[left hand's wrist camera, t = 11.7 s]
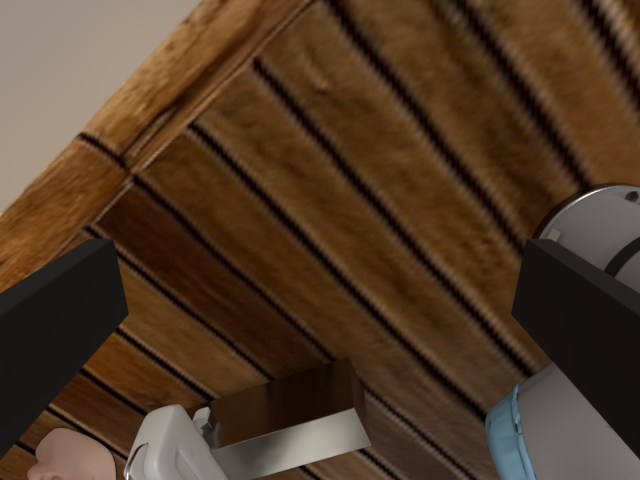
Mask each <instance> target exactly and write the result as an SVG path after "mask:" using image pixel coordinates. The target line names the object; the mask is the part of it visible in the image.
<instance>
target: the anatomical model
mask: <svg viewBox="0 0 640 480" xmlns="http://www.w3.org/2000/svg"><path fill="white" fill-rule="evenodd" d="M36 458H37V460H38V463H37V464H36V465H34V466H33V467H32V468H31V469H30V470H29V471H28V474H27V476H28V478H29V480H116V469H115V463H114V459H113V457H112V454H111V453H110V451H109V450H108V449H107V448H106V447H105V446H104V445H102V444H101V443H99V442H98V441H96V440H94V439H92V438H90V437H88V436H86V435H84V434H81V433H79V432H76V431H73V430H70V429H66V428H57V429H54V430H52V431H51V432H50V433H49V434H48V435H47V436H46V437H45V438H44V439H43V440H42V441H41V442H40V444H39V446H38V447H37V449H36Z"/></svg>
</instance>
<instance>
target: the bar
mask: <svg viewBox="0 0 640 480" xmlns="http://www.w3.org/2000/svg"><path fill="white" fill-rule="evenodd" d="M205 407H208V408H209V409H210V411H211V412H212V414H213V416H214V418H213V420H212V424H211V426H210V427H207V428H203V429H202V430H203V434H202V436H203V438H204V439H205V441H206V442H207V444H208V445H209V447H210V453H211V455H212V456H213V458H214V459H215V461H216V462H217V464H218V465H219V466H220V468H221V469H222V471H223V472H224V474H225V475H226V477H227V478H228V480H252V479H255V478H259V477H262V476H266V475H269V474H273V473H276V472H280V471H283V470H287V469H290V468H294V467H297V466H301V465H304V464H308V463H311V462H315V461H318V460H322V459H325V458H329V457H332V456H336V455H339V454H343V453H346V452H350V451H353V450H357V449H360V448H364V447H367V446H371V438H370V431H369V424H368V417H367V411H366V404H365V397H364V390H363V388H362V386H361V383H360V381H359V379H358V377H357V374H356V372H355V370H354V368H353V366H352V363H351V361H350V359H349V357H347V358H344V359H341V360H338V361H335V362H332V363H329V364H325V365H322V366H319V367H316V368H313V369H310V370H307V371H304V372H300V373H297V374H294V375H291V376H288V377H285V378H282V379H279V380H275V381H272V382H269V383H266V384H263V385H260V386H257V387H254V388H250V389H247V390H244V391H241V392H238V393H235V394H232V395H229V396H225V397H222V398H219V399H216V400H213V401H210V402H207V403H204V404H200V405H197V406H194V407H191V408H188V409H187V411H186V413H187V414H188V416H189V417H190V419H191V420H193V418H194V415H195V413H196V412H197V411H198V410H199V409H202V408H205Z"/></svg>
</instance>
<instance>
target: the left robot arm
mask: <svg viewBox="0 0 640 480" xmlns="http://www.w3.org/2000/svg"><path fill="white" fill-rule="evenodd" d="M128 314H129V313H128V308H127V303H126V298H125V293H124V289H123V284H122V279H121V274H120V269H119V265H118V260H117V255H116V250H115V245H114V240H113V239H88V240H86V241H85V242H83V243H82V244H80V245H78V246H77V247H75V248H73V249H72V250H70V251H68V252H67V253H65V254H64V255H62V256H60V257H59V258H57V259H55V260H54V261H52V262H51V263H49V264H47V265H46V266H44V267H42V268H41V269H39V270H38V271H36V272H34V273H33V274H31V275H29V276H28V277H26V278H25V279H23V280H21V281H20V282H18V283H16V284H15V285H13V286H11V287H10V288H8V289H7V290H5V291H3V292H2V293H0V460H1V459H2V457H3V456H4V455H5V454H6V453H7V452H8V451H9V449H10V448H11V447H12V446H13V445H14V444H15V443H16V442H17V440H18V439H19V438H20V437H21V436H22V435H23V434H24V432H25V431H26V430H27V429H28V428H29V427H30V426H31V425H32V423H33V422H34V421H35V420H36V419H37V418H38V417H39V415H40V414H41V413H42V412H43V411H44V410H45V409H46V407H47V406H48V405H49V404H50V403H51V402H52V401H53V400H54V398H55V397H56V396H57V395H58V394H59V393H60V392H61V390H62V389H63V388H64V387H65V386H66V385H67V384H68V383H69V381H70V380H71V379H72V378H73V377H74V376H75V375H76V373H77V372H78V371H79V370H80V369H81V368H82V367H83V365H84V364H85V363H86V362H87V361H88V360H89V359H90V358H91V356H92V355H93V354H94V353H95V352H96V351H97V350H98V348H99V347H100V346H101V345H102V344H103V343H104V342H105V341H106V339H107V338H108V337H109V336H110V335H111V334H112V333H113V331H114V330H115V329H116V328H117V327H118V326H119V325H120V323H121V322H122V321H123V320H124V319H125V318H126V317H127V316H128ZM511 314H512V316H513V317H514V318H515V319H516V320H517V321H518V322H519V324H520V325H521V326H522V327H523V328H524V329H525V330H526V331H527V333H528V334H529V335H530V336H531V337H532V338H533V339H534V341H535V342H536V343H537V344H538V345H539V346H540V347H541V348H542V350H543V351H544V352H545V353H546V354H547V355H548V356H549V358H550V359H551V360H552V362H551V363H549V364H548V365H547V366H545V367H544V368H542V369H541V370H540V371H538V372H537V373H535V374H534V375H533V376H531V377H530V378H528V379H527V380H526V381H524V382H519V383H517V384H516V385H515V386H514V388H513V390H512V391H511V392H510V393H508V394H507V395H506V396H505V397H503V398H502V399H501V400H500V401H499V402H497V403H496V404H495V405H494V406H493V407H492V408H491V409H490V410H489V412H488V414H487V416H486V421H485V431H486V437H487V438H486V440H487V444H488V448H489V451H490V454H491V457H492V460H493V463H494V465H495V467H496V470H497V472H498V475H499V477H500V479H501V480H640V187H639V186H635V185H632V184H626V183H606V184H600V185H595V186H592V187H589V188H586V189H584V190H581V191H579V192H577V193H575V194H573V195H572V196H570V197H568V198H567V199H565V200H564V201H562V202H561V203H560V204H559V205H557V206H556V207H555V208H554V209H553V210H552V211H551V212H550V213H549V214H548V215H547V216H546V218H545V219H544V220H543V221H542V223H541V224H540V226H539V227H538V229H537V231H536V233H535V235H534V237H533V239H527V240H526V245H525V250H524V255H523V260H522V265H521V269H520V274H519V279H518V284H517V289H516V293H515V298H514V303H513V308H512V313H511Z"/></svg>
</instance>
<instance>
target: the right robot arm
mask: <svg viewBox="0 0 640 480" xmlns="http://www.w3.org/2000/svg"><path fill="white" fill-rule="evenodd" d="M213 418H214V416H213V414H212V412H211V411H210V409H209V408H208V407H205V408H202V409H199V410H198V411H197V412H196V413H195V415H194V418H193V420H191V419H190V417H189V416H188V414H187V413H186V411H185V410H184V408H183V407H182V406H181V405H180V404H175V405H169V406H165V407H162V408H159V409H157V410H154V411H152V412H150V413H149V414H148V415H147V416H146V417H145V419H144V421H143V423H142V425H141V427H140V430H139V432H138V434H137V437H136V439H135V442H134V444H133V447H132V450H131V452H130V455H129V458H128V462H127V465H126V467H125V470H124V477H125V480H228V478H227V477H226V475H225V474H224V472H223V471H222V469H221V468H220V466H219V465H218V464H217V462H216V461H215V459H214V458H213V456H212V455H211V453H210V447H209V445H208V444H207V442H206V441H205V439H204V438H203V436H202V434H203V430H202V429H203V428H207V427H210V426H211V424H212V420H213Z"/></svg>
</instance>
